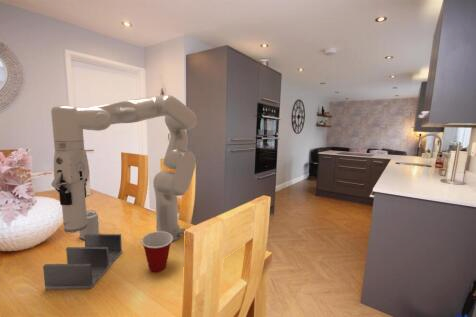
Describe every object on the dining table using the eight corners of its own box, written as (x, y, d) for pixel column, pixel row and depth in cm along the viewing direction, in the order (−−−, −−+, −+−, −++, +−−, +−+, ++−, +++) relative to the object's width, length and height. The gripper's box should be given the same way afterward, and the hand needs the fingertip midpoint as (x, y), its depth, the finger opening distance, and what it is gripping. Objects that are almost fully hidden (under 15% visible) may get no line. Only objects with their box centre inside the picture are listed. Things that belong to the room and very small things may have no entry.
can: (89, 241, 100) (88, 216, 98) (75, 239, 101) (73, 214, 100) (102, 233, 107) (101, 210, 105) (89, 232, 108) (88, 208, 107)
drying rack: (121, 252, 92) (121, 234, 91) (90, 288, 71) (89, 265, 70) (87, 252, 91) (85, 234, 90) (45, 289, 70) (43, 266, 69)
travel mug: (62, 235, 69) (55, 172, 66) (66, 226, 75) (60, 168, 72) (86, 231, 72) (80, 170, 69) (88, 223, 78) (84, 167, 75)
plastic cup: (155, 282, 75) (154, 248, 73) (135, 270, 80) (134, 239, 79) (179, 265, 84) (179, 235, 82) (160, 256, 90) (159, 228, 88)
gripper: (61, 149, 62) (67, 211, 64) (97, 144, 79) (100, 193, 81) (33, 148, 61) (40, 211, 64) (76, 144, 78) (79, 193, 81)
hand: (74, 200), depth 72 cm, fingers closed on travel mug, 6 cm apart
